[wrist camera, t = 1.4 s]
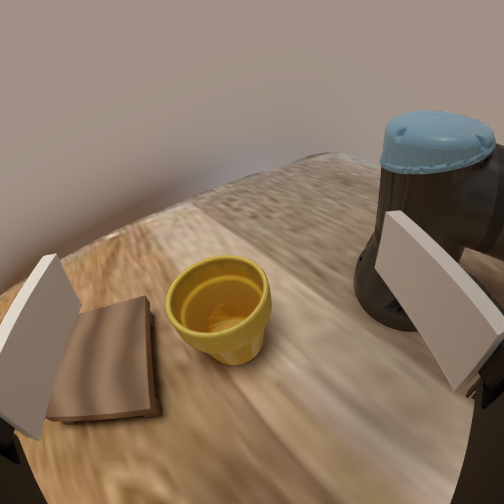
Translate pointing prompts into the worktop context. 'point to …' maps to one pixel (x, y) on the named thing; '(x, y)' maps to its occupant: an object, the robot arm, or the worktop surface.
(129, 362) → the walnut stand
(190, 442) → the worktop surface
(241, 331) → the plant pot
